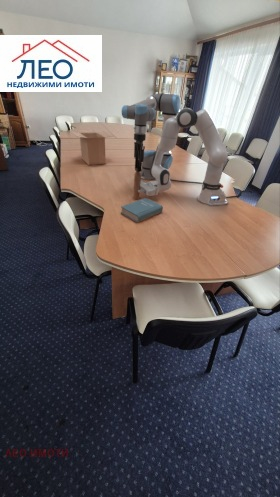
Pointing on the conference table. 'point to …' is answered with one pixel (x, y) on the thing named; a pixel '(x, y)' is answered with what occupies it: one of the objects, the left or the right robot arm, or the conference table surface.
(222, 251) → the conference table surface
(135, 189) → the bottle
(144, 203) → the book
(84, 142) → the box
